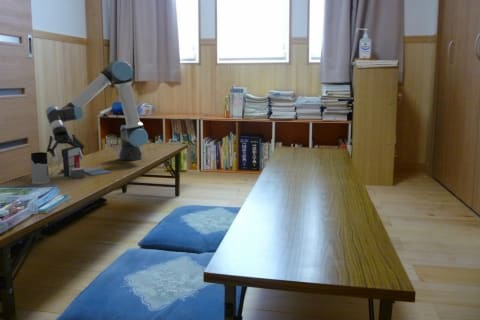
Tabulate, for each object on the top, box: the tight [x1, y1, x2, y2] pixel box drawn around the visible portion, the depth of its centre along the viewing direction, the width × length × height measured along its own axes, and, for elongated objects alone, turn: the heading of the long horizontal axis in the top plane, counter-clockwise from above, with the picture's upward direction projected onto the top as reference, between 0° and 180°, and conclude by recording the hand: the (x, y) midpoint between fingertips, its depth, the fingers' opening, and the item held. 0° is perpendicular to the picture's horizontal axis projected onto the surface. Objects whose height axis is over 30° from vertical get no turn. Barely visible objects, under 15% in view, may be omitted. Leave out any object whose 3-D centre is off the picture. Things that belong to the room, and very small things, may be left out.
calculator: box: [60, 146, 81, 178], centre depth 244 cm, size 11×4×15 cm, turn 168°
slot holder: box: [59, 166, 85, 179], centre depth 245 cm, size 6×20×5 cm, turn 41°
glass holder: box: [30, 151, 61, 185], centre depth 226 cm, size 9×14×15 cm, turn 111°
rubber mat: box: [84, 167, 112, 176], centre depth 254 cm, size 11×16×1 cm
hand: (70, 159), depth 243 cm, fingers open, 13 cm apart
